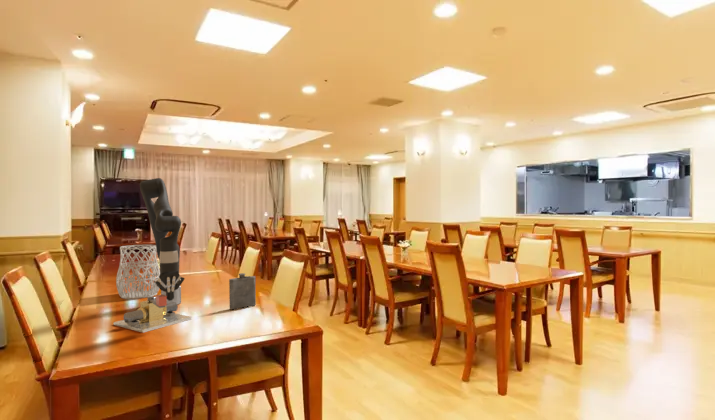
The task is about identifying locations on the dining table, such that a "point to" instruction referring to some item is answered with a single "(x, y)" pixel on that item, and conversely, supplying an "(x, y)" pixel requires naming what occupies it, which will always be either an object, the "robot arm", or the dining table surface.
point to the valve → (151, 317)
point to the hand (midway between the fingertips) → (170, 300)
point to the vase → (137, 273)
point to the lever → (158, 300)
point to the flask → (242, 291)
